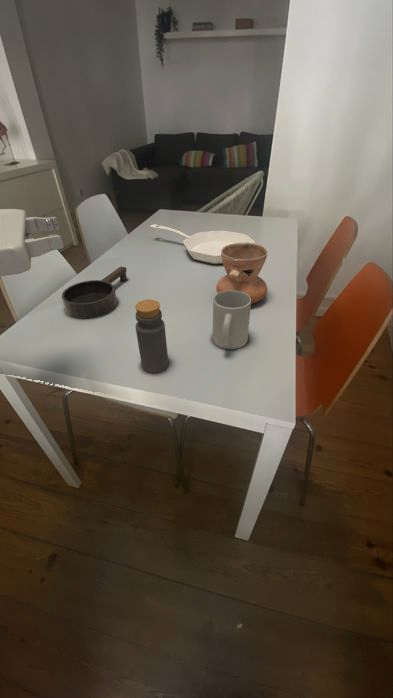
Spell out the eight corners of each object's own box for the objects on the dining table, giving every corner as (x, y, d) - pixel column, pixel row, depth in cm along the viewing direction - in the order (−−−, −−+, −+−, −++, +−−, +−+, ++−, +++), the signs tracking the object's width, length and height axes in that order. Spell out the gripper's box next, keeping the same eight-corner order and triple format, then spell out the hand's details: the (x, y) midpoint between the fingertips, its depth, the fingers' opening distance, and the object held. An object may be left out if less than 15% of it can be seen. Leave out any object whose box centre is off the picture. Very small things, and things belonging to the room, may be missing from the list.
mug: (216, 327, 81) (216, 288, 74) (249, 331, 79) (253, 291, 73) (205, 356, 72) (205, 314, 65) (243, 361, 70) (247, 319, 63)
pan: (234, 272, 107) (235, 253, 103) (134, 249, 125) (131, 233, 121) (262, 247, 124) (264, 231, 120) (170, 231, 142) (169, 216, 138)
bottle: (170, 356, 72) (165, 298, 63) (165, 374, 67) (159, 313, 58) (145, 355, 73) (136, 297, 63) (139, 372, 68) (128, 312, 59)
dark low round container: (55, 313, 88) (50, 299, 85) (86, 290, 98) (83, 277, 96) (98, 323, 84) (94, 308, 81) (126, 298, 94) (124, 284, 91)
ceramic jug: (256, 316, 84) (262, 266, 76) (206, 306, 89) (206, 257, 81) (273, 288, 97) (279, 241, 88) (228, 280, 102) (230, 235, 93)
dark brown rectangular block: (103, 293, 97) (100, 280, 94) (122, 278, 105) (120, 266, 102) (109, 295, 96) (106, 281, 93) (128, 279, 104) (126, 267, 101)
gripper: (-72, 247, 35) (58, 229, 39) (-41, 206, 50) (51, 196, 54) (-44, 297, 39) (72, 276, 43) (-23, 245, 54) (61, 233, 58)
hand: (60, 231), depth 49 cm, fingers open, 8 cm apart
